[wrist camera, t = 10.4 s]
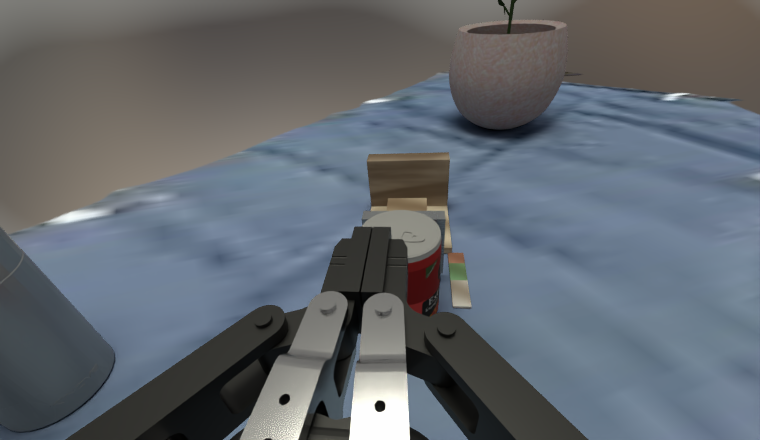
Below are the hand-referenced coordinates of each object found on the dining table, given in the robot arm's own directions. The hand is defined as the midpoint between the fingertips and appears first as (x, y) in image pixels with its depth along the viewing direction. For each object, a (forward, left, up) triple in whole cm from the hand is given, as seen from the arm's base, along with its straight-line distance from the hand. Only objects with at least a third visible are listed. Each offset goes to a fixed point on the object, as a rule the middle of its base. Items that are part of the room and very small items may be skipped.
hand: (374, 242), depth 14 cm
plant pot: (+1, +74, -22) cm, 77 cm away
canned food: (-4, +14, -22) cm, 26 cm away
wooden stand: (-6, +25, -22) cm, 33 cm away
